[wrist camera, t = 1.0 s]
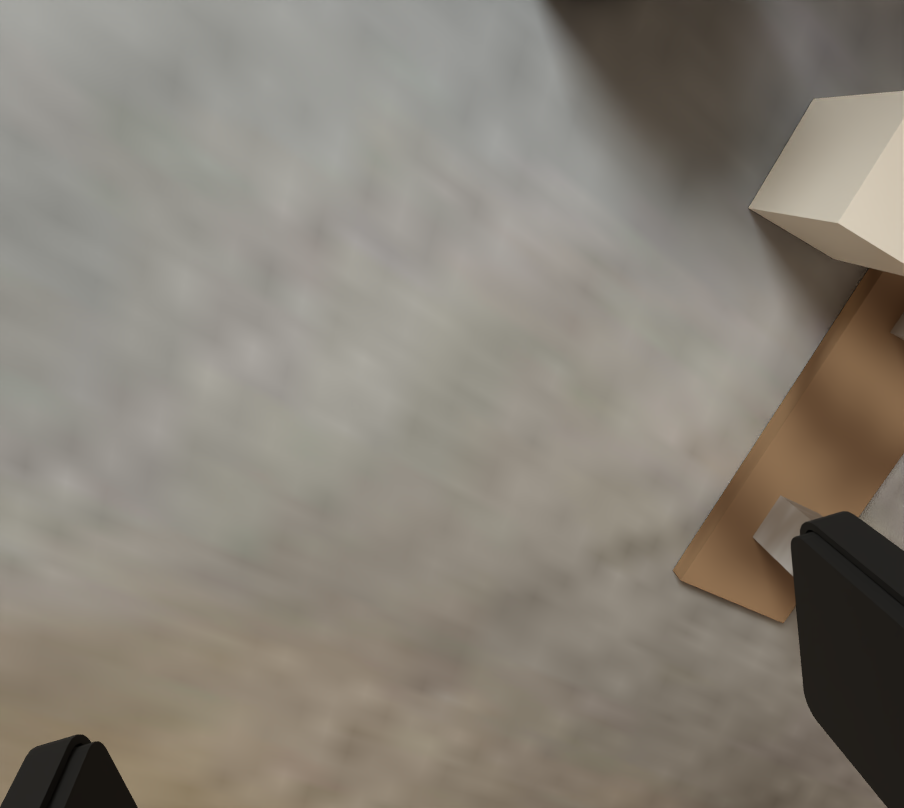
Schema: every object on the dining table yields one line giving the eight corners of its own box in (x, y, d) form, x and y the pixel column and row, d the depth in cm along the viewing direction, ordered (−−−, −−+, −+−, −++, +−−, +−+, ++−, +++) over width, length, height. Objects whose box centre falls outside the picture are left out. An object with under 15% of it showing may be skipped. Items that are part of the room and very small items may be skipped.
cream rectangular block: (813, 98, 33) (922, 89, 27) (899, 156, 34) (1021, 159, 28) (748, 207, 34) (837, 222, 28) (833, 259, 36) (936, 283, 29)
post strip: (921, 187, 35) (1079, 200, 27) (1023, 255, 37) (1197, 284, 29) (672, 570, 40) (748, 668, 33) (773, 612, 42) (866, 714, 34)
